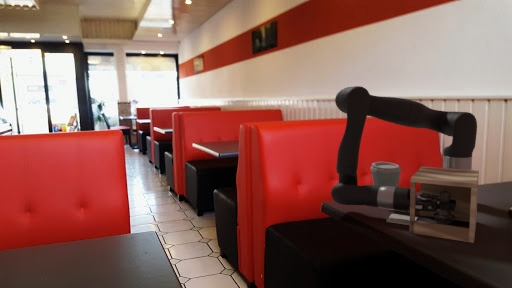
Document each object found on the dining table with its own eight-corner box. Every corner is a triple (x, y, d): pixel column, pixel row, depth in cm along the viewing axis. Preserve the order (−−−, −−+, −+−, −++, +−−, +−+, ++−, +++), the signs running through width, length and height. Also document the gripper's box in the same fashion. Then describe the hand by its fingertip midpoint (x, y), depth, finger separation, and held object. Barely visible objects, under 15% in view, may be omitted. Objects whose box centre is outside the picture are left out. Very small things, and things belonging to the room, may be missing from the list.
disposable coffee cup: (406, 204, 136) (407, 163, 134) (388, 209, 130) (389, 167, 128) (382, 198, 145) (382, 160, 143) (363, 203, 139) (364, 163, 137)
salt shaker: (457, 230, 109) (459, 190, 107) (435, 229, 110) (437, 190, 108) (451, 224, 114) (452, 185, 113) (430, 223, 115) (431, 185, 114)
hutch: (419, 214, 124) (421, 166, 122) (476, 221, 116) (478, 170, 114) (409, 232, 108) (410, 177, 106) (473, 242, 99) (476, 183, 98)
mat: (391, 214, 125) (391, 213, 125) (417, 218, 120) (417, 217, 120) (386, 221, 118) (386, 220, 118) (413, 225, 114) (413, 224, 114)
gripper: (389, 191, 112) (454, 198, 103) (399, 182, 124) (457, 187, 115) (389, 215, 113) (452, 225, 104) (398, 204, 125) (456, 211, 116)
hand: (455, 205), depth 110 cm, fingers closed on salt shaker, 3 cm apart
